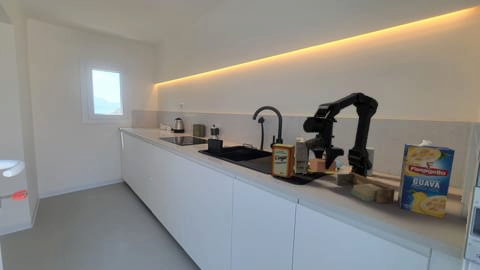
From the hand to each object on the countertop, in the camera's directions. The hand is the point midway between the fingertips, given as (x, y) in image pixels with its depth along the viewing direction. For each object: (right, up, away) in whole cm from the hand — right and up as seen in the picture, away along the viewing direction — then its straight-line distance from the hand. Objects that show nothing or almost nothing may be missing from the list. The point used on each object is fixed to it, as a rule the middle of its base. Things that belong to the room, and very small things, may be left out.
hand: (322, 167), depth 87 cm
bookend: (+11, -8, +4) cm, 14 cm away
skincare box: (+31, -7, +20) cm, 38 cm away
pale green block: (+13, -10, -11) cm, 20 cm away
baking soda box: (-15, -7, +12) cm, 21 cm away
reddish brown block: (0, -1, 0) cm, 1 cm away
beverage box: (+25, -12, -19) cm, 34 cm away
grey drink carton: (-4, -6, +20) cm, 21 cm away
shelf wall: (+15, -9, -5) cm, 18 cm away
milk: (+43, -10, -1) cm, 44 cm away
